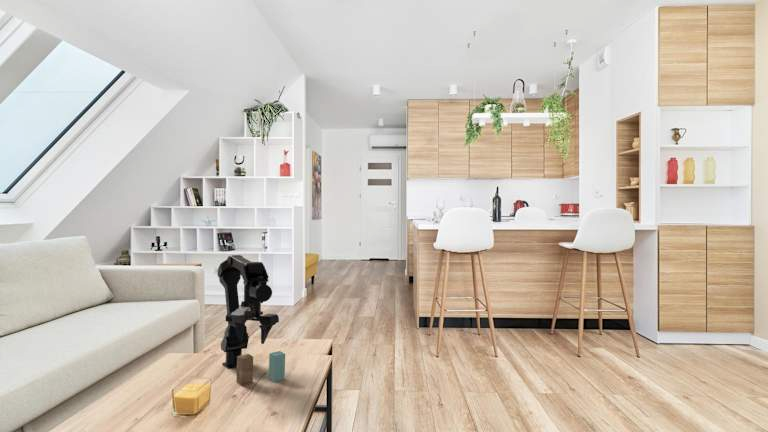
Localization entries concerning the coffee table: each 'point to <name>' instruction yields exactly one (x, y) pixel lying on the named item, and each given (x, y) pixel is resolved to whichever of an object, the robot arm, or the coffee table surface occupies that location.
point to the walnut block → (244, 369)
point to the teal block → (277, 366)
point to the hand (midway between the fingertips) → (251, 342)
